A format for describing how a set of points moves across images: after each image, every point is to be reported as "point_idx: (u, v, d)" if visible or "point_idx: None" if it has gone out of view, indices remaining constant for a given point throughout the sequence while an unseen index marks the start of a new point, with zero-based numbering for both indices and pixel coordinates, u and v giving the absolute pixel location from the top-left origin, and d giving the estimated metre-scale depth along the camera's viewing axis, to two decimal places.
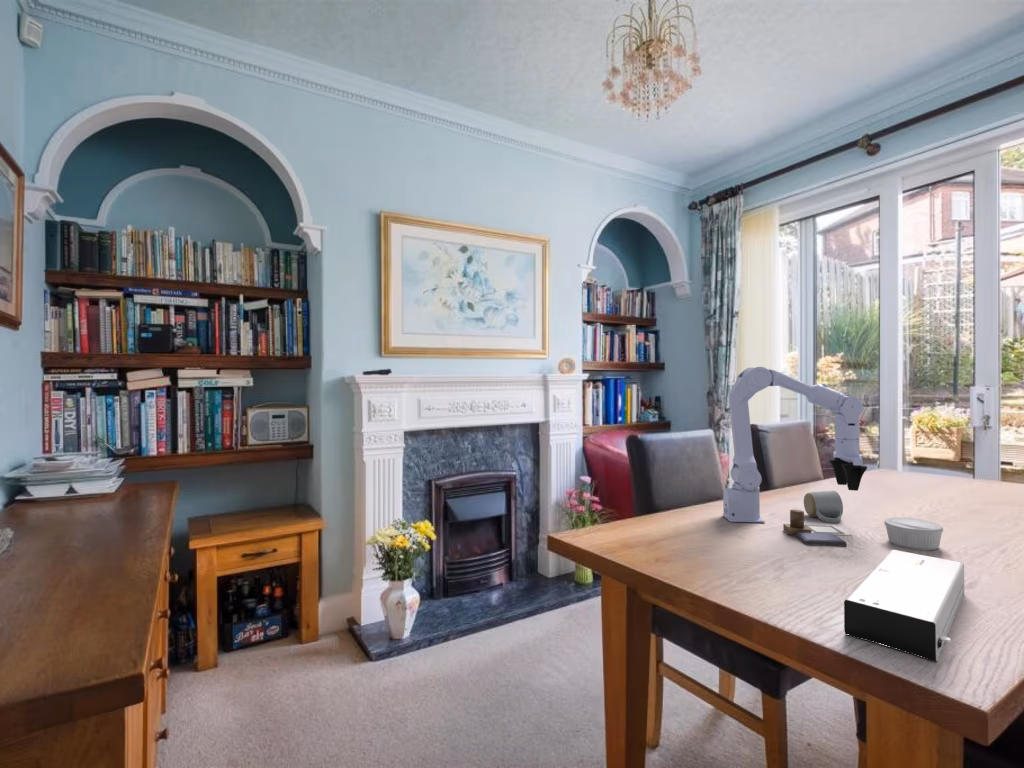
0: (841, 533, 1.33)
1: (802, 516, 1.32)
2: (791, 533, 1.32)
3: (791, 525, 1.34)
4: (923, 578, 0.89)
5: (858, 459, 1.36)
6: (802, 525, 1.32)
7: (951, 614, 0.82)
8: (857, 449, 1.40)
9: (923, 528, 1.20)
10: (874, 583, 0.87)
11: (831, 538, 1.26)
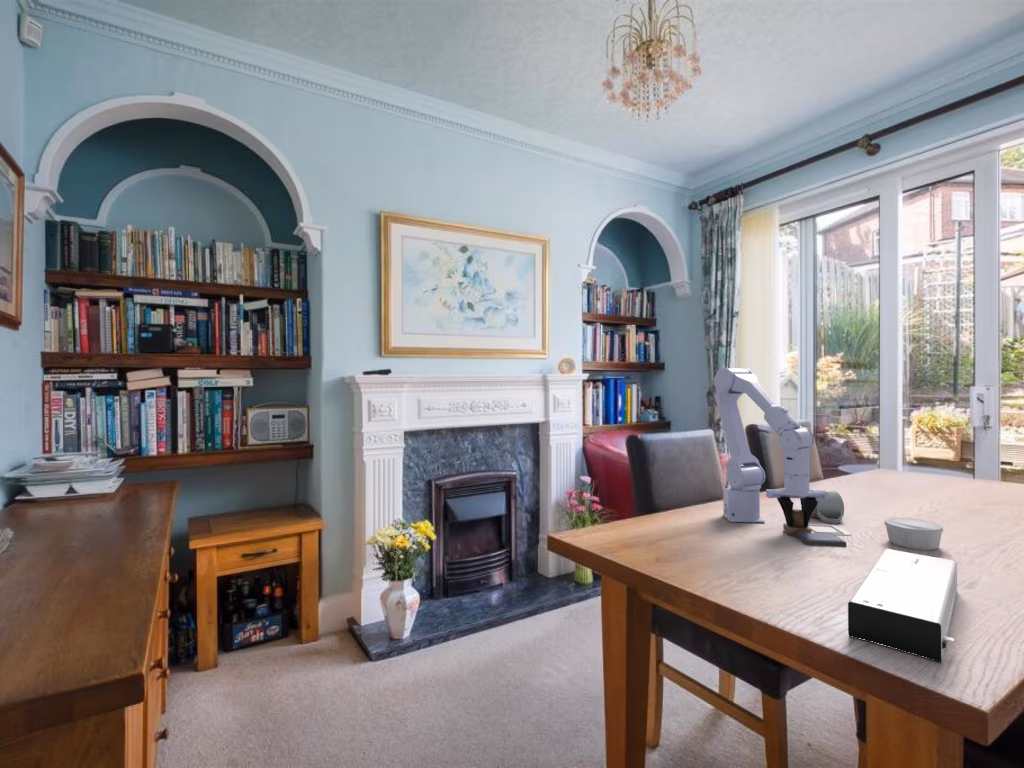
0: (841, 533, 1.33)
1: (802, 515, 1.32)
2: (791, 533, 1.32)
3: None
4: (920, 577, 0.89)
5: (767, 491, 1.35)
6: (802, 525, 1.32)
7: (950, 613, 0.83)
8: (790, 485, 1.32)
9: (923, 528, 1.20)
10: (875, 583, 0.86)
11: (831, 538, 1.26)
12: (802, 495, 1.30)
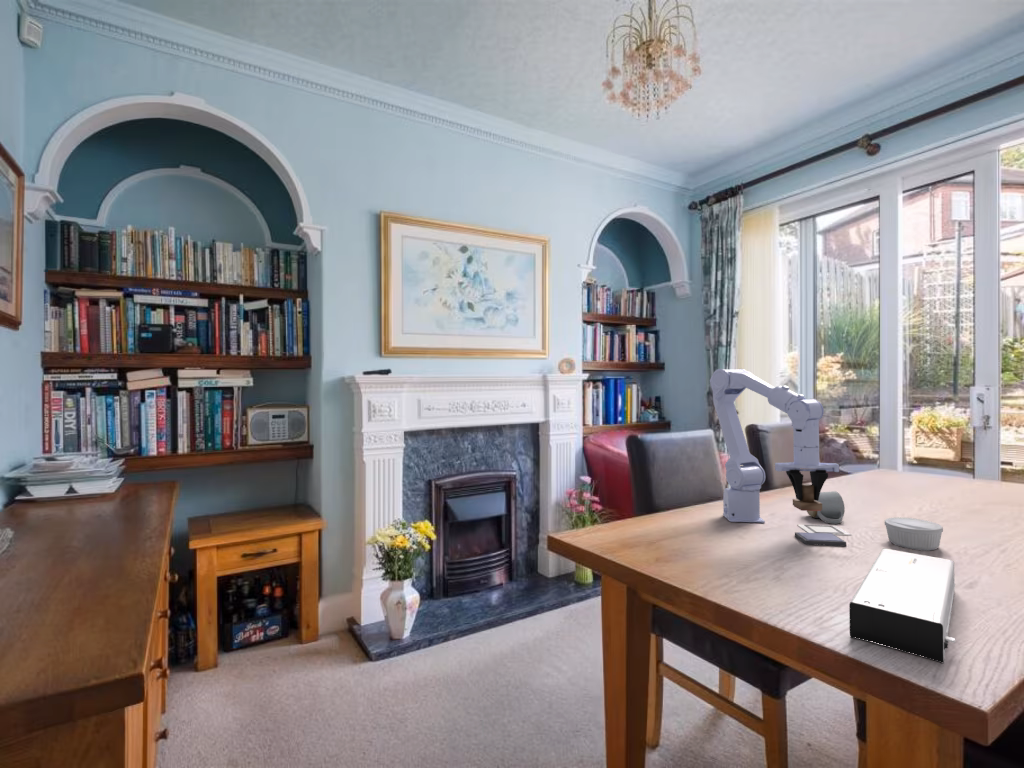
0: (841, 533, 1.33)
1: (812, 489, 1.29)
2: (802, 507, 1.29)
3: None
4: (919, 577, 0.89)
5: (776, 464, 1.32)
6: (812, 499, 1.29)
7: (950, 613, 0.83)
8: (799, 457, 1.29)
9: (923, 528, 1.20)
10: (875, 583, 0.86)
11: (831, 538, 1.26)
12: (812, 467, 1.27)
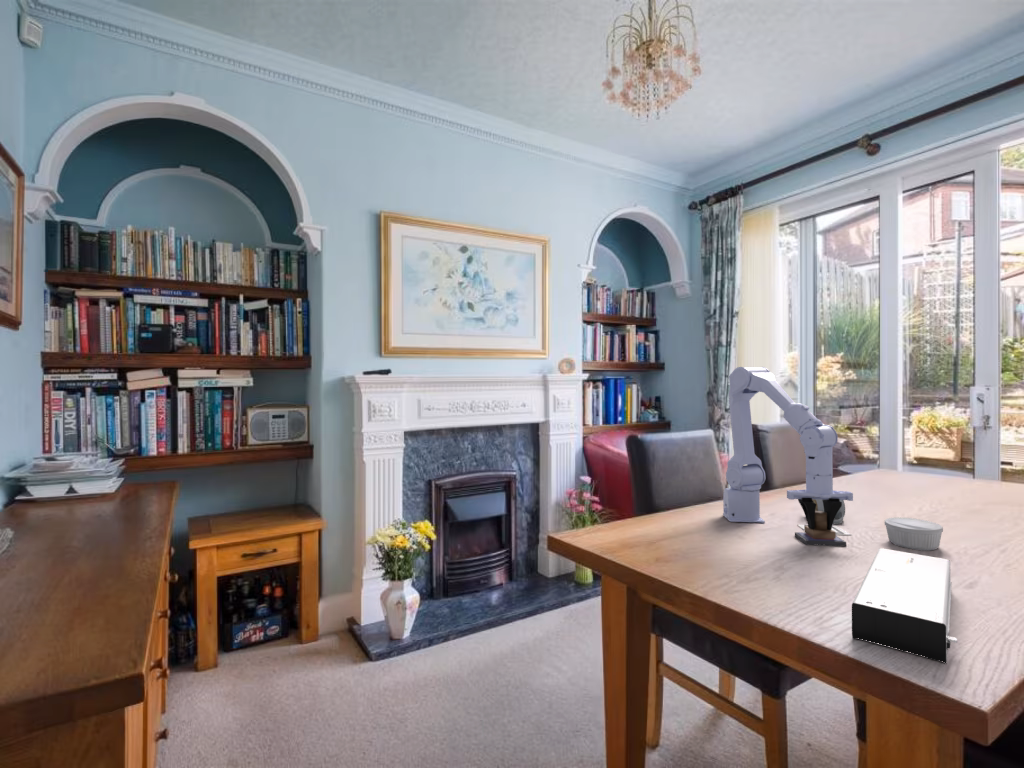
0: (841, 533, 1.33)
1: (825, 517, 1.26)
2: (814, 536, 1.25)
3: None
4: (918, 576, 0.89)
5: (788, 492, 1.28)
6: (825, 527, 1.26)
7: (949, 612, 0.83)
8: (812, 485, 1.26)
9: (923, 528, 1.20)
10: (875, 583, 0.86)
11: None
12: (825, 496, 1.23)
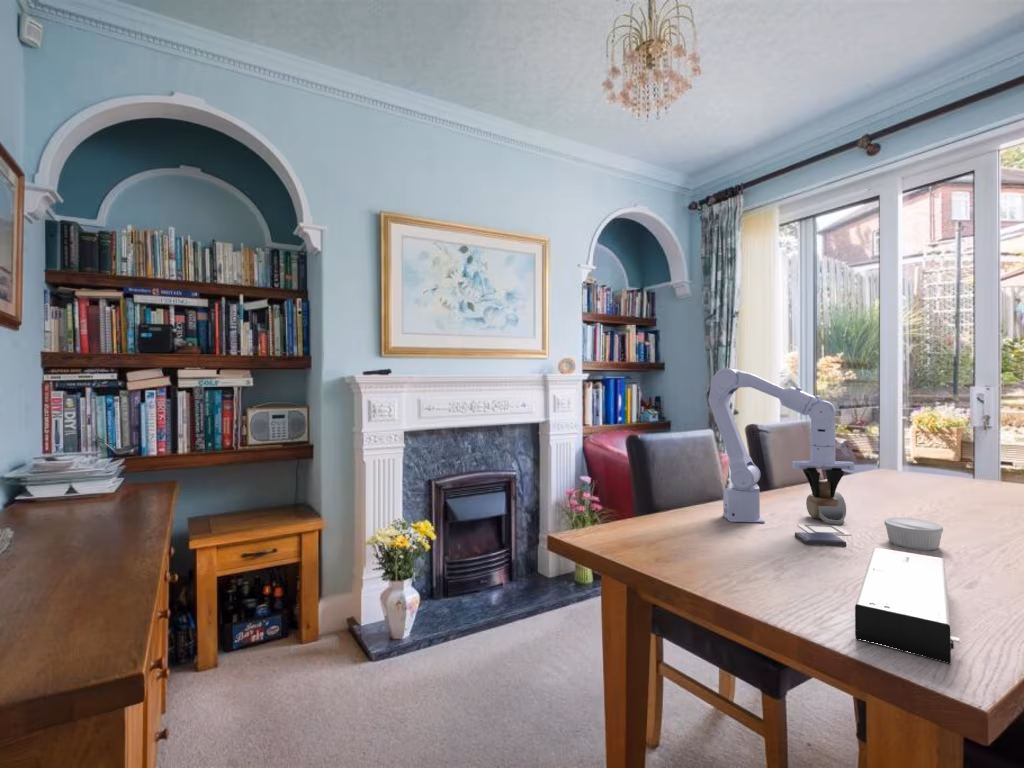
0: (841, 533, 1.33)
1: (829, 486, 1.35)
2: (818, 503, 1.34)
3: None
4: (916, 576, 0.89)
5: (793, 462, 1.37)
6: (829, 495, 1.35)
7: None
8: (816, 456, 1.35)
9: (923, 528, 1.20)
10: (875, 584, 0.86)
11: (831, 538, 1.26)
12: (829, 465, 1.32)
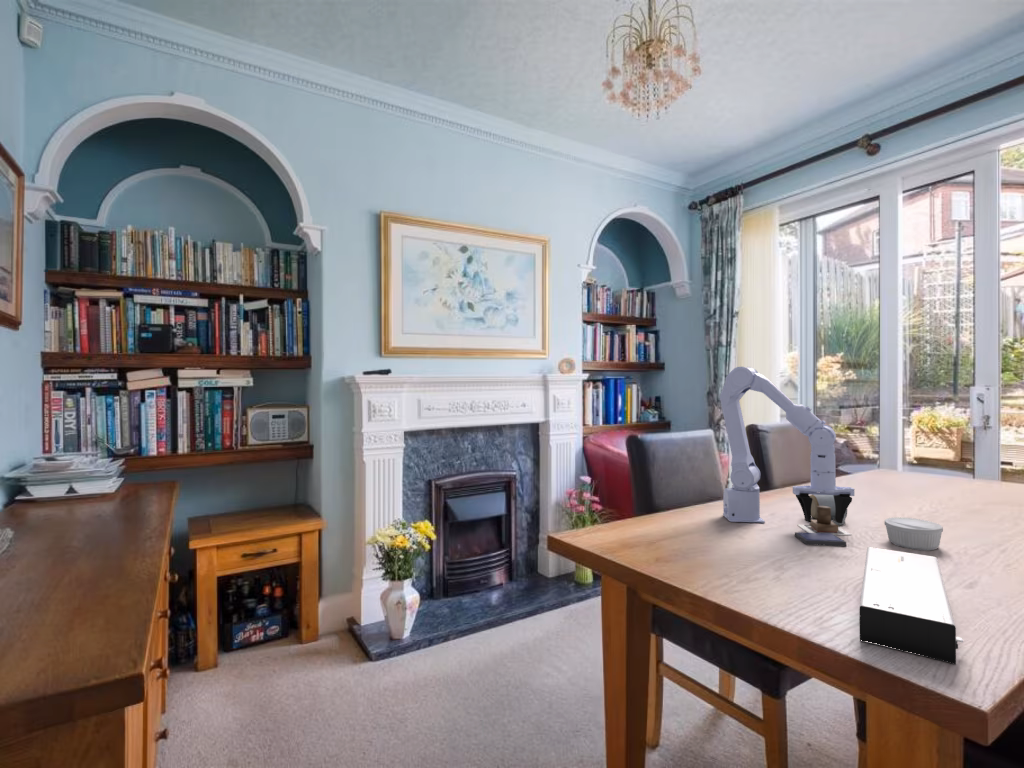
0: (841, 533, 1.33)
1: (829, 511, 1.35)
2: (818, 529, 1.34)
3: (818, 521, 1.36)
4: (913, 575, 0.90)
5: (793, 488, 1.38)
6: (829, 521, 1.35)
7: None
8: (816, 482, 1.35)
9: (923, 528, 1.20)
10: (875, 584, 0.86)
11: (831, 538, 1.26)
12: (829, 492, 1.32)
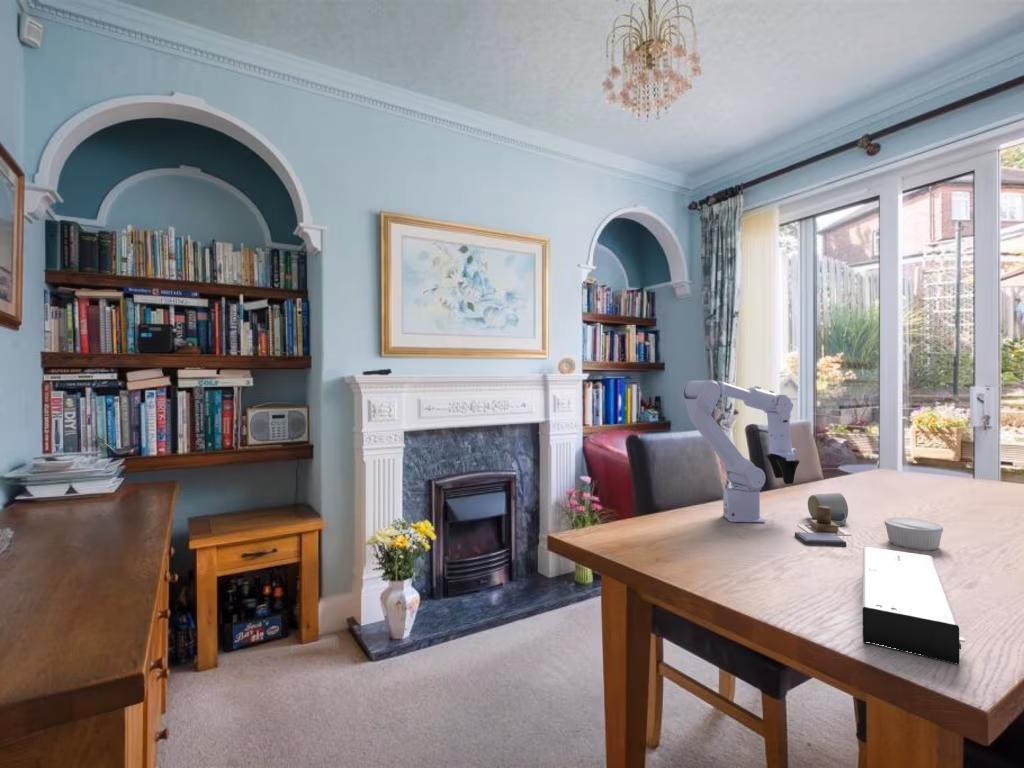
0: (841, 533, 1.33)
1: (829, 511, 1.35)
2: (818, 529, 1.34)
3: (818, 521, 1.36)
4: (912, 575, 0.90)
5: (790, 455, 1.43)
6: (829, 521, 1.35)
7: None
8: (789, 444, 1.48)
9: (923, 528, 1.20)
10: (876, 585, 0.86)
11: (831, 538, 1.26)
12: None
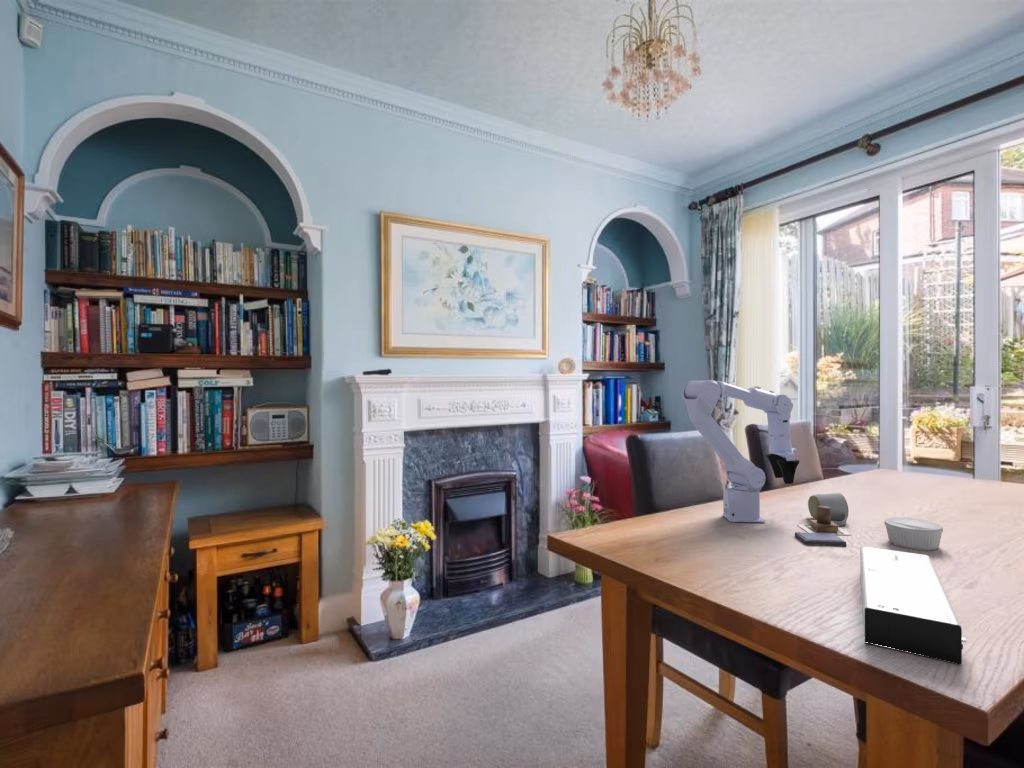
0: (841, 533, 1.33)
1: (829, 511, 1.35)
2: (818, 529, 1.34)
3: (818, 521, 1.36)
4: (911, 575, 0.90)
5: (790, 455, 1.43)
6: (829, 521, 1.35)
7: None
8: (789, 444, 1.48)
9: (923, 528, 1.20)
10: (876, 585, 0.86)
11: (831, 538, 1.26)
12: None
